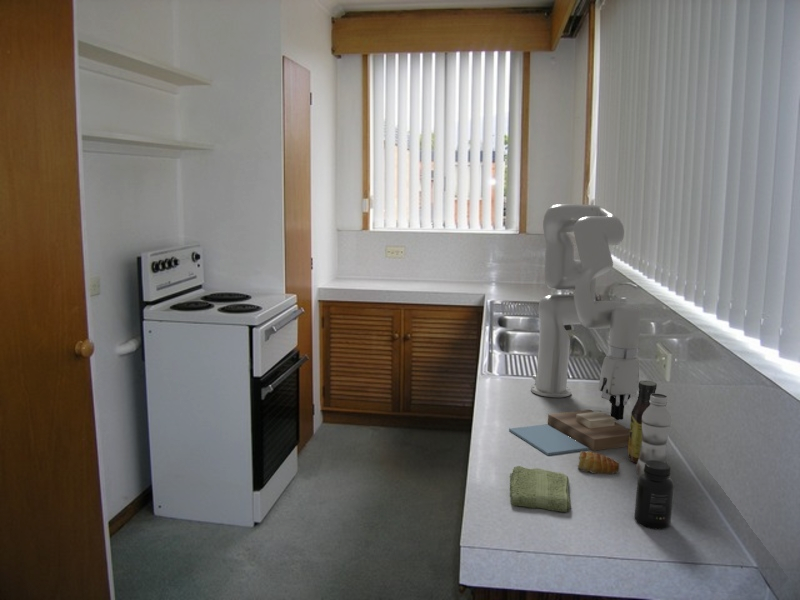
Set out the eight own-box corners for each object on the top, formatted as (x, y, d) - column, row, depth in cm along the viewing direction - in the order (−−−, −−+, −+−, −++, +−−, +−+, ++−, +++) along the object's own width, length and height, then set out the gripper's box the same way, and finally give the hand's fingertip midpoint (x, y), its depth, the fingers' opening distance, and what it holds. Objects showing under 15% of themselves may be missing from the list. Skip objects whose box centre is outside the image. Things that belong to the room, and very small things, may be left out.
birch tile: (575, 421, 190) (576, 413, 190) (600, 418, 194) (600, 411, 193) (589, 428, 185) (590, 421, 185) (614, 425, 188) (615, 418, 188)
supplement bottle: (676, 522, 141) (682, 465, 139) (660, 533, 136) (666, 474, 134) (643, 510, 146) (649, 455, 144) (627, 520, 141) (633, 463, 139)
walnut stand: (547, 424, 196) (548, 414, 195) (589, 419, 201) (589, 409, 201) (593, 450, 178) (594, 439, 177) (637, 444, 183) (638, 433, 183)
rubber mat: (508, 430, 190) (509, 428, 190) (546, 426, 194) (546, 424, 194) (547, 455, 173) (547, 453, 173) (587, 449, 178) (587, 447, 178)
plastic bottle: (629, 480, 161) (638, 395, 157) (643, 472, 165) (652, 389, 162) (656, 489, 156) (665, 402, 153) (670, 481, 161) (679, 396, 158)
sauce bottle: (633, 453, 177) (640, 376, 173) (658, 460, 173) (666, 382, 169) (622, 461, 172) (630, 381, 168) (648, 468, 168) (656, 387, 164)
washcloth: (568, 481, 160) (569, 467, 159) (571, 516, 143) (572, 501, 142) (509, 474, 162) (510, 461, 162) (505, 508, 145) (506, 493, 145)
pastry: (618, 467, 169) (619, 451, 168) (619, 478, 162) (620, 462, 161) (577, 461, 171) (578, 446, 170) (577, 472, 164) (578, 457, 164)
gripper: (635, 347, 195) (629, 411, 198) (590, 350, 189) (585, 416, 192) (654, 354, 188) (648, 420, 191) (609, 357, 183) (603, 425, 186)
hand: (616, 418), depth 192 cm, fingers closed
